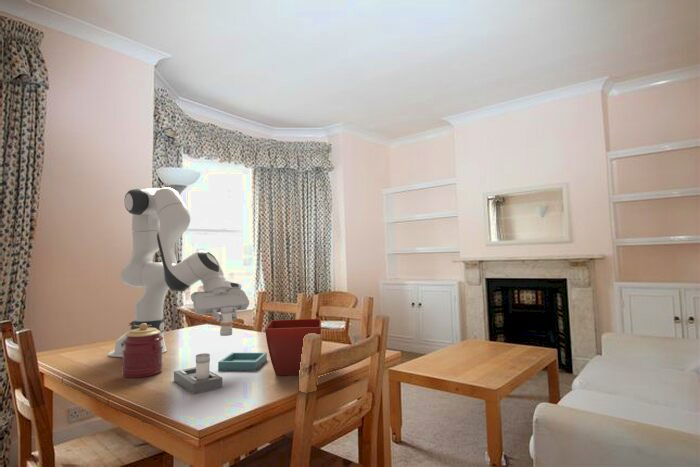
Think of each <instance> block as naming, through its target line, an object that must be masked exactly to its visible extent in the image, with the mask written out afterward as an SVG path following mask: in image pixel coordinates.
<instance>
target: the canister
mask: <svg viewBox="0 0 700 467" xmlns="http://www.w3.org/2000/svg"><path fill="white" fill-rule="evenodd" d="M147 327H148V326H147V324H146V323H142V324H140V326H139V328H138V329H133V330H130V329H129V330H130V332H128V331H127V332H128V333H126V332H125V333H126V334H125V333H124V334H125V336H127V337H126V339H125V340H123V344H124V350H123V351H122V352H123V357H122V367H121V373H122V377H124V378H129V379H134V378H135V379H137V378H145V377H151V376H155V375H158V374H160V373H161V372H162V371H163V366H164V365H163V364H164V363H163V353H162V350H163V346H162V342H161V341H162V340H163V337H162V336H160V334H159V333H161V331H160V330H157V329H156V328H147Z"/></svg>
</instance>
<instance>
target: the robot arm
mask: <svg viewBox="0 0 700 467" xmlns="http://www.w3.org/2000/svg"><path fill="white" fill-rule="evenodd" d="M124 207H125V209H126V211H127V212H128V213H129V214H131V215H132V216H131V231H132V232H131V235H132V253H131V256H130V259H129V261H128V262H127V264H126V265H125V266H123V268H122V269H121V272H120V279H121V281H122V283H123V284H124V285H126V286H129V287H132V288H145V291H144V293H143V295H142V296H141V297H139V298H138V299H137V300H136V302H135V304H134V320H132V321H131V322H129V323H127V324H128V325H127V326H128V327H130V329H129V330H128V331H126V332H125V333H124V334H122V335H121V336H120V337H118V339H117V340H116V341H115V344H114V349H113V350H111V351H109V353H108V354H107V356H108V357H114V358H123V352H122V351H123V350H124V344H123V340H125V339H126V337H127V336H125V334H126V333H128V332H130V330H133V329H138V328H139V326H140V324H142V323H146V324H147V326H148V327H147V328H156V329H157V330H160V331H161V333H159V334H160V336H162V337H163V340H162V341H161V342H162V346H163V350H162V354H164V353H166V352H167V347H166V343H165V338H164V337H165V336H164V331H165V318H164V307H165V306H164V303H165V299H166V295H167V294H168V292H169V290H171V291H175V292H180V293H182V292H185V291H186V290H187V289H190V287H192V286H193V285H194V284H196V283H197V282H199V281H200V282H201V283H202V287H203V288H202V289H203V291H194V292H193V293H191V295H190V299H191V301H192V302H193V310H194V314H196V315H198V316H199V315H208V314H209V315H210V314H211V316H212V317H213V318H215V319H216V322H219V323H220V322H221V321H222V320H223V318H222V315H221V314H219V313H221V307H228V306H231V307H233V313H232V321H235V320H237V318H238V316H237V315H238V314H237V311H245V310H247V309H248V307H249V306H250V300H249V298H248V295H247V294H246V292H245V291H244V290H243V289H242V285H241V284H240V283H238V282H237V283H236V282H233V281H229V280H227V279H226V278H225V277H224V272H223V269H222V266H221V265H220V263H219V261H218V260H217V258H216V257H215V256H214V255H213V254H212V253H211V252H208V251H207V250H206V251H205V250H198V251H197V250H196V252H194V253H192V254H191V255H188V257H186V258H184V259H183V260H181V261H179V262H178V260H177V257H176V253H175V246H176V243H177V241H179V239H180V238H181V236H182V235H183V234H184V233H185V232H186V230H188V228H189V226H190V223H191V215H190V212H189V210H188V208H187V206H186V204H185V202H184V200H183V199H182V197H181V195H180V193H179V192H178V190H175V189H174V188H171V187H169V186H168V187H167V186H166V187H161V188H159V187H153V188H152V187H151V188H142V189H139V188H135V189H134V188H133V189H130V190H128V191H127V192H126V193H125V195H124ZM158 252H159V254H160V258H161V262H160V261H158V262H157V261H155V262H154V257H155V254H156V253H158Z"/></svg>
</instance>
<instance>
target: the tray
mask: <svg viewBox="0 0 700 467" xmlns="http://www.w3.org/2000/svg"><path fill="white" fill-rule="evenodd" d="M267 361H268V352H231V353H229V354H227V355H226V356H225V357H223V358H222V359H220V360H219V361H218V362H217V364H218V365H217V371H242V372H243V371H254V372H256V371H258V370H259V368H261V366H263V364H265V363H266V362H267Z"/></svg>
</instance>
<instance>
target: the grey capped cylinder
mask: <svg viewBox="0 0 700 467" xmlns="http://www.w3.org/2000/svg"><path fill="white" fill-rule="evenodd" d="M233 313H234V312H233V307H231V306H228V307H221V312H220V315H222V318H223V320H222V321H220V329H219V330H220V331H219V335H220V336H221V337H227V336H232V335H233V320H232V314H233Z"/></svg>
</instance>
